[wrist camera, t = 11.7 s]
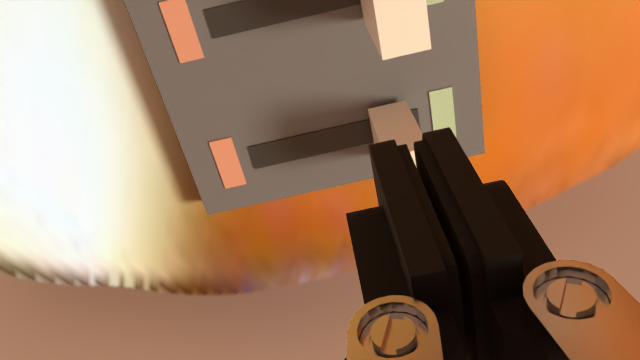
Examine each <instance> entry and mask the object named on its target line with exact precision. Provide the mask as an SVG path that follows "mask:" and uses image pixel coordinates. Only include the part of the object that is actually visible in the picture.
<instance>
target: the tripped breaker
mask: <svg viewBox="0 0 640 360" xmlns="http://www.w3.org/2000/svg"><path fill="white" fill-rule="evenodd" d="M360 1H361V6H362V12H363V18H364V23H365V25H366V27H367V29H368V31H369V33H370V35H371V37H372V39H373V41H374V44H375V46H376V48H377V50H378V52H379V54H380V56H381V58H382V60H386V59H391V58H395V57H399V56H404V55H408V54H412V53H416V52H421V51H425V50H429V49H431V40H430V30H429V21H428V12H427V3H426V0H360Z"/></svg>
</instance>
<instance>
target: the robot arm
mask: <svg viewBox="0 0 640 360" xmlns="http://www.w3.org/2000/svg"><path fill="white" fill-rule="evenodd" d="M368 147H369V154H370V159H371V165H372V170H373V176H374V181H375V187H376V192H377V198H378V203H379V207H374V208H369V209H365V210H360V211H355V212H351V213H346V216H347V221H348V226H349V231H350V236H351V241H352V246H353V250H354V255H355V260H356V265H357V270H358V275H359V280H360V284H361V289H362V294H363V299H364V304H365V305H364V306H362V307H361V308H360V309H359V310H358V311H357V312H356V313H355V314H354V316H353V317H352V319H351V321H350V323H349V327H348V332H347V357H346V358H345V360H640V303H639V302H637V300H636V299H634V297H633V296H632V295H631V294H630V293H629V292H628V291H627V290H626V289H624V287H623V286H621V285H620V284H619V283H618V281H616V280H615V279H614V278H613V277H612V276H611V275H609V274H608V273H607V272H605V271H604V270H603V269H601V268H598V267H596V266H593V265H592V264H589V263H584V262H580V261H575V260H558V261H556V259H555V258H554V256H553V255H552V253H551V252H550V250H549V248H548V247H547V245H546V244H545V242H544V241H543V239H542V237H541V236H540V234H539V233H538V231H537V230H536V228H535V227H534V225H533V223H532V222H531V220H530V219H529V217H528V216H527V214H526V213H525V211H524V209H523V208H522V206H521V205H520V203H519V202H518V200H517V199H516V197H515V195H514V194H513V192H512V191H511V189H510V188H509V186H508V185H507V184H506V182H505V181H503V180H499V181H495V182H490V183H485V184H483V183H482V182H481V180H480V178H479V176H478V175H477V173H476V171H475V170H474V168H473V166H472V164H471V163H470V161H469V159H468V157H467V156H466V154H465V152H464V151H463V149H462V147H461V145H460V144H459V142H458V140H457V138H456V137H455V135H454V133H453V132H452V130H451V129H450V127H447V128H443V129H438V130H434V131H429V132H425V133H422V140H421V141H416V142H414V153H415V161H416V165H415V163H414V161H413V158H412V156H411V154H410V151H409V149H408V147H407V145H406V144H403V145H398V146H397V144H396V141H395V140H394V139H393V140H388V141H384V142H379V143H375V144H370V145H368Z"/></svg>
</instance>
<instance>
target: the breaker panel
mask: <svg viewBox="0 0 640 360" xmlns="http://www.w3.org/2000/svg"><path fill="white" fill-rule="evenodd" d="M124 3H125V5H126V8H127V10H128V13H129V15H130V18H131V20H132V23H133V26H134V28H135V31H136V33H137V36H138V38H139V41H140V43H141V46H142V48H143V51H144V54H145V56H146V59H147V61H148V64H149V66H150V69H151V71H152V74H153V77H154V79H155V82H156V84H157V87H158V89H159V92H160V94H161V97H162V100H163V102H164V105H165V107H166V110H167V112H168V115H169V117H170V120H171V122H172V125H173V128H174V130H175V133H176V135H177V138H178V140H179V143H180V145H181V148H182V151H183V153H184V156H185V158H186V161H187V163H188V166H189V168H190V171H191V173H192V176H193V179H194V181H195V184H196V186H197V189H198V191H199V194H200V196H201V199H202V202H203V204H204V207H205V209H206V212H207V214H208V215H209V214H214V213H218V212H223V211H227V210H232V209H236V208H241V207H245V206H250V205H254V204H259V203H263V202H268V201H272V200H277V199H281V198H286V197H290V196H295V195H299V194H304V193H308V192H312V191H317V190H321V189H326V188H330V187H335V186H339V185H344V184H348V183H353V182H357V181H362V180H366V179H371V178H374V176H373V170H372V165H371V159H370V154H369V147H368V145H370V144H374V140H373V135H372V130H371V124H370V119H369V113H368V109H370V108H374V107H379V106H383V105H387V104H392V103H396V102H400V101H405V100H406V102H407V104H408V106H409V108H410V110H411V112H412V114H413V116H414V118H415V120H416V122H417V124H418V126H419V128H420V130H421V132H422V133H425V132H429V131H434V130H438V129H443V128H447V127H450V129H451V130H452V132H453V133H454V135H455V137H456V138H457V140H458V142H459V144H460V145H461V147H462V149H463V151H464V152H465V154H466V156H467V157H469V156H474V155H478V154H483V153H485V150H484V135H483V119H482V104H481V88H480V73H479V57H478V42H477V26H476V10H475V0H426V3H427V12H428V21H429V30H430V40H431V49H429V50H425V51H421V52H416V53H412V54H408V55H404V56H399V57H395V58H391V59H386V60H382V58H381V56H380V54H379V52H378V50H377V48H376V46H375V44H374V41H373V39H372V37H371V35H370V33H369V31H368V29H367V27H366V25H365V23H364V18H363V12H362V6H361V1H360V0H124Z"/></svg>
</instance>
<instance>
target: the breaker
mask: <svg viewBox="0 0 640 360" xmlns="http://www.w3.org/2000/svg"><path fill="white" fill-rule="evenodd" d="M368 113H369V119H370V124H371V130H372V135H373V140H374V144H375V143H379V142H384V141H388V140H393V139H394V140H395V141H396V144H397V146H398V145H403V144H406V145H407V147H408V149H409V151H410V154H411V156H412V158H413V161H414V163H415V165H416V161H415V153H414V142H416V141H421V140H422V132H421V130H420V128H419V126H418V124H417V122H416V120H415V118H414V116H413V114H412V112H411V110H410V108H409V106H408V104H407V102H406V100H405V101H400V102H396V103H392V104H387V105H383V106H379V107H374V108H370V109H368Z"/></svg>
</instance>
